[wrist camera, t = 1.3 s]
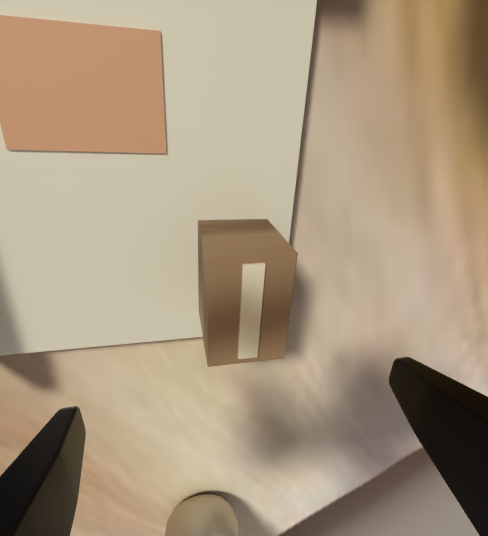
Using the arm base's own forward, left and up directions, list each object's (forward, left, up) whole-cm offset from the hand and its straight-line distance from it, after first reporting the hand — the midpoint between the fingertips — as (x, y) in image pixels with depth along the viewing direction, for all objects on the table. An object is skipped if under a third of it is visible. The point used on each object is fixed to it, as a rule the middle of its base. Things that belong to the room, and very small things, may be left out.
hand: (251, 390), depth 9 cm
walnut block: (-2, +2, -11) cm, 11 cm away
